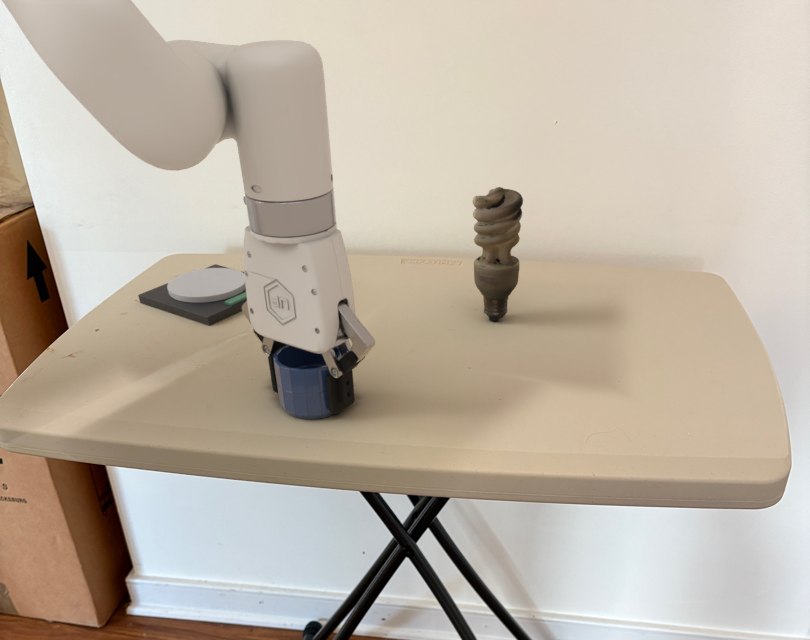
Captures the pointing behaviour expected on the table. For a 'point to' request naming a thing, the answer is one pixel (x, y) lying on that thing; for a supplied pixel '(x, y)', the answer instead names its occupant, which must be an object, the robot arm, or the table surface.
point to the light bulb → (497, 248)
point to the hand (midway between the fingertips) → (313, 396)
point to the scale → (201, 294)
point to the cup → (302, 382)
